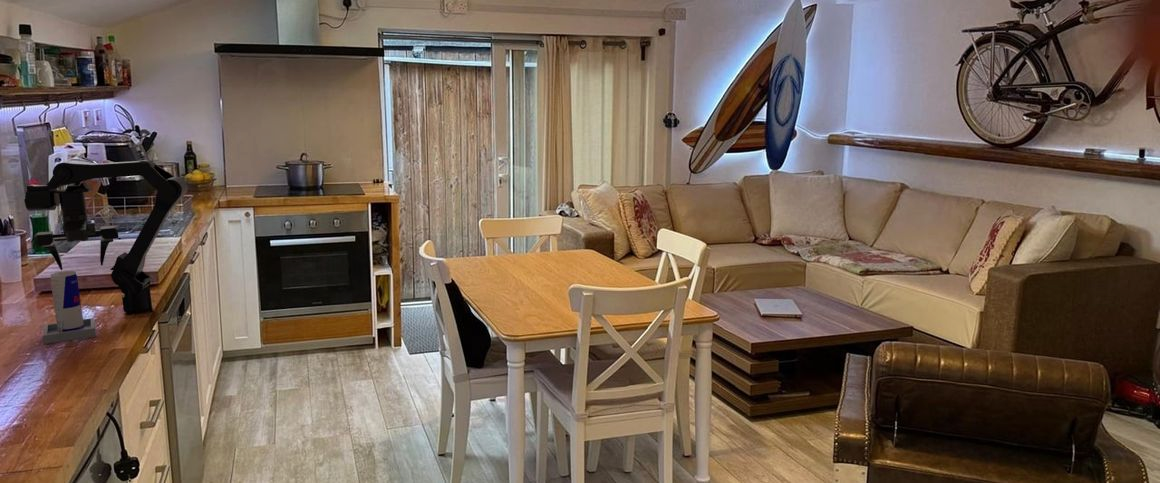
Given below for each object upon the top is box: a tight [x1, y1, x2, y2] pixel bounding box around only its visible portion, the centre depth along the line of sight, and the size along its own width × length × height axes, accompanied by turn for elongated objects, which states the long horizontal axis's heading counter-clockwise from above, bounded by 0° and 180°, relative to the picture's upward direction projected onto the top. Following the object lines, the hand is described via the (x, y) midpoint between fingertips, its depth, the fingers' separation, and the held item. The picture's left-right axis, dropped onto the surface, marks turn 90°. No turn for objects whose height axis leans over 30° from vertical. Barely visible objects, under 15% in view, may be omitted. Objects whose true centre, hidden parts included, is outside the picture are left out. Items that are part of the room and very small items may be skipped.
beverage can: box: [50, 270, 84, 332], centre depth 207 cm, size 6×6×15 cm
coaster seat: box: [42, 317, 97, 345], centre depth 208 cm, size 11×11×2 cm
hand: (81, 267), depth 223 cm, fingers open, 9 cm apart
